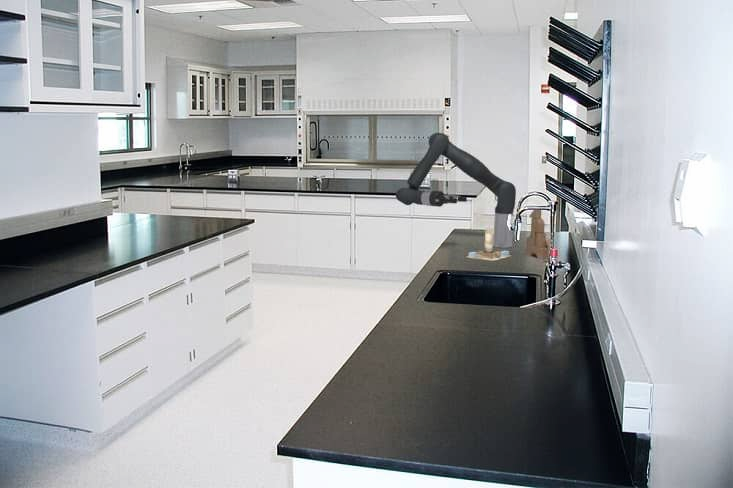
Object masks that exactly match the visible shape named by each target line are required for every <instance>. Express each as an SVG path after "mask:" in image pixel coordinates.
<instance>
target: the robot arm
mask: <svg viewBox="0 0 733 488" xmlns="http://www.w3.org/2000/svg"><path fill="white" fill-rule="evenodd" d="M428 146H429V148H428V149H427V151H426V152H425V153H426V154H425V155H424V156H423V157H422V159H421V160H420V162H418V164H417V165H416V166H415V168H413V170H412V172H411V174H410V175H409V177H408V178H407V181H406V182H407V184H408V187H401V188H399V189H398V190H396V192H395V198H396V200H397V201H398V202H400V203H402V204H403V205H405V206H410V205H412V204H415V205H419V206H422V205H423V206H427V207H438V208H440V207H443V205H448V204H457V203H460V202H464V203H467V200H468V199H467V197H466V196H461V195H455V194H454V195H453V194H451V195H450V194H444V192H443V191H442V190H431V189H430V190H420V187H421V186H422V184H423V182H424V181H425V179H426V178H427V176H428V174H429V172H430V171H431V169H432V168H433V167H434V165H435V163H436V162H437V161H438V159H439V158H440V156H441V155H442V156H443V157H444V158H446V159H448V160H449V161H450V162H451V163H452V164H453V165H454V166H455V167H456V168H457V169H459V170H460V171H462V172H463V173H464V174H466V175H467V176H469V178H471V179H472V180H475V182H478V183H480V184H481V185H483V186H484V187H485V188H487V189H488V190H489V191H490V192H491V193H493V194H494V195H495V197H497V200H496V202H497V203H496V206H495V207H494V223H493V229H494V244H493V247H496V248H501V249H502V248H503V249H504V248H505V249H507V248H508V249H509V248H512V246H513V234H514V233H513V232H514V230H513V231H510V230H509V228H508V226H507V220H508V215H509V214H511V215H513V216H514V209H515V207H516V206H515V205H516V199H517V188H516V186H515V185H514V184H513V183H512V182H510V181H507V180H505V179H502V178H500V177H499V176H497V175H496V174H494V173H493V172H492V171H491V170H490V169H489V168H488V166H486V165H485V164H484V163H483V162H482V161H480V160H479V159H478V158H477V157H475V156H474V155H472V154H471V153H469V152H467V151H465V150H464V149H461V148H459V147H457V146H456V145H455V144H454V143H453V142H451V141H450V139H449V136H447V134H445V133H442V132H434V133H432V134H430V136H429V138H428Z"/></svg>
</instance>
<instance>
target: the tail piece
mask: <svg viewBox="0 0 733 488" xmlns="http://www.w3.org/2000/svg"><path fill="white" fill-rule="evenodd" d="M477 252H478V251H471V252H468V256H469V257H471V258H470V259H476V258H475V257H477ZM469 257H468V258H469Z"/></svg>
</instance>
